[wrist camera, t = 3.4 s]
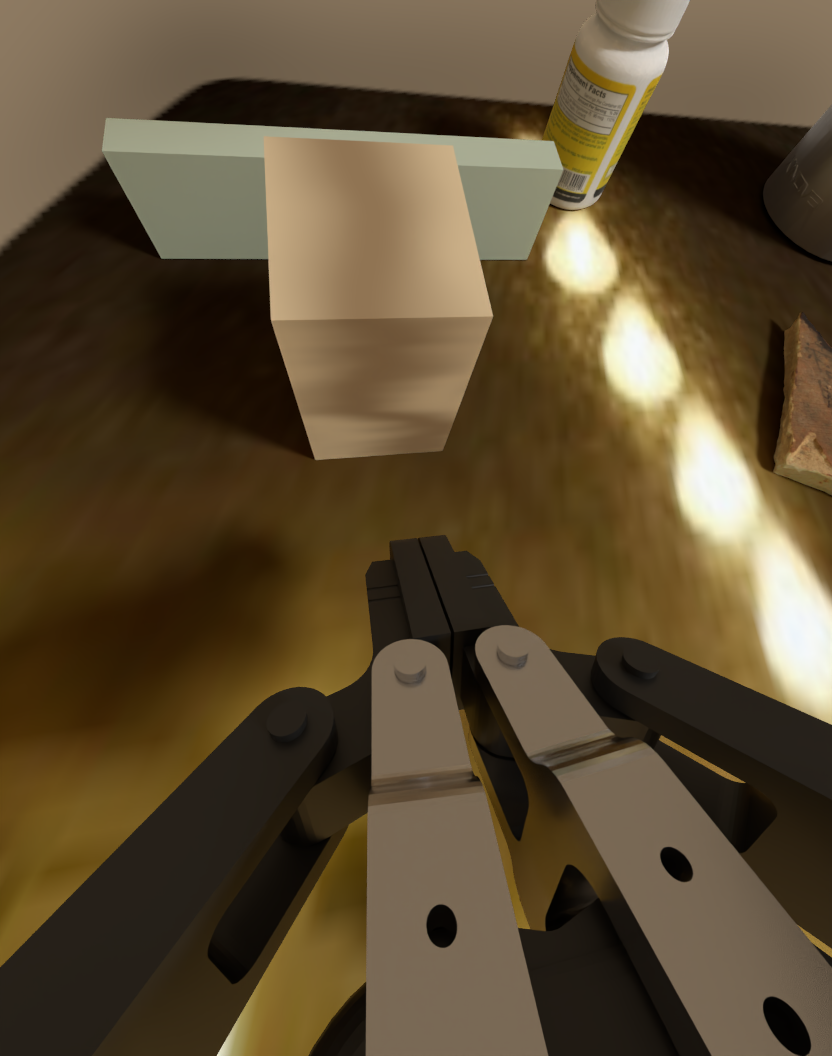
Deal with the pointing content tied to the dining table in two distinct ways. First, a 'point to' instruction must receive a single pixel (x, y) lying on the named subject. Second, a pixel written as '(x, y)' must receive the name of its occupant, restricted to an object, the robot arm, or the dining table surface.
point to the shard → (806, 408)
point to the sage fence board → (240, 192)
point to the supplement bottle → (607, 91)
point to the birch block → (373, 290)
